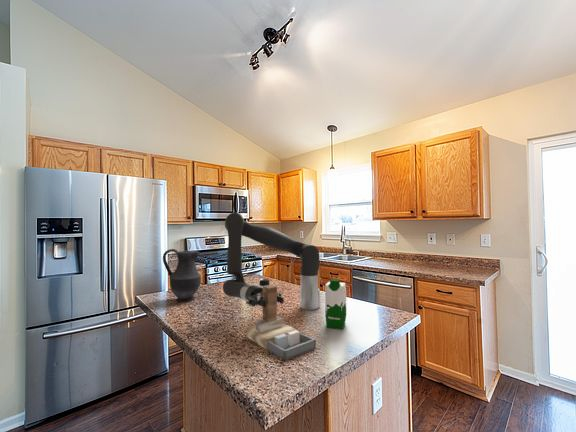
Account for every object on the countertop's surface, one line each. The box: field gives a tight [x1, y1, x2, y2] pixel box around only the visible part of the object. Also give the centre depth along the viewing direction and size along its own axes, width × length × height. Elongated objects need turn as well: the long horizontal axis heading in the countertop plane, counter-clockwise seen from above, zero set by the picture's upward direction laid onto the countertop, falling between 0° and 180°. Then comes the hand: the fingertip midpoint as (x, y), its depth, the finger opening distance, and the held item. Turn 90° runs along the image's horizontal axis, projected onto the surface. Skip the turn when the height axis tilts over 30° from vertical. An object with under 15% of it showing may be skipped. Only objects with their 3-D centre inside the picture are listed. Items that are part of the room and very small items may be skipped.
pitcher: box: [162, 248, 202, 303], centre depth 157 cm, size 17×21×30 cm
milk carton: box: [324, 278, 347, 330], centre depth 117 cm, size 9×9×20 cm
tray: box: [266, 331, 317, 362], centre depth 94 cm, size 10×14×3 cm
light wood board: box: [246, 322, 298, 350], centre depth 104 cm, size 14×14×4 cm
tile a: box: [287, 329, 300, 346], centre depth 98 cm, size 4×4×2 cm
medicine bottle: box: [258, 278, 270, 288], centre depth 157 cm, size 7×7×12 cm
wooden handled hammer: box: [255, 284, 284, 332], centre depth 105 cm, size 4×10×16 cm, turn 128°
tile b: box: [275, 334, 287, 348], centre depth 95 cm, size 4×4×2 cm
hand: (274, 302), depth 103 cm, fingers open, 7 cm apart
